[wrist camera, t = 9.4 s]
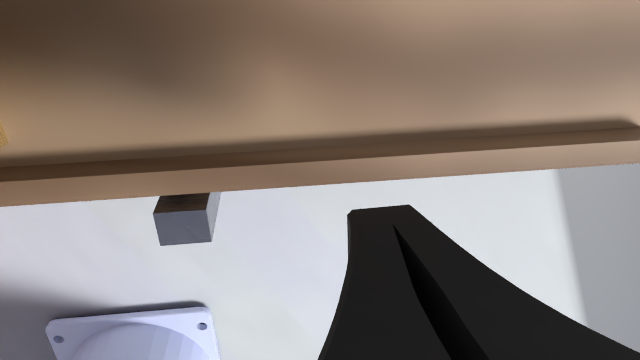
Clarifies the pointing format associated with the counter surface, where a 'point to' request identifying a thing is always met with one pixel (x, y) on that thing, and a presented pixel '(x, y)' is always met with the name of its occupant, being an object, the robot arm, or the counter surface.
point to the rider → (2, 136)
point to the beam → (307, 92)
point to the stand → (186, 218)
